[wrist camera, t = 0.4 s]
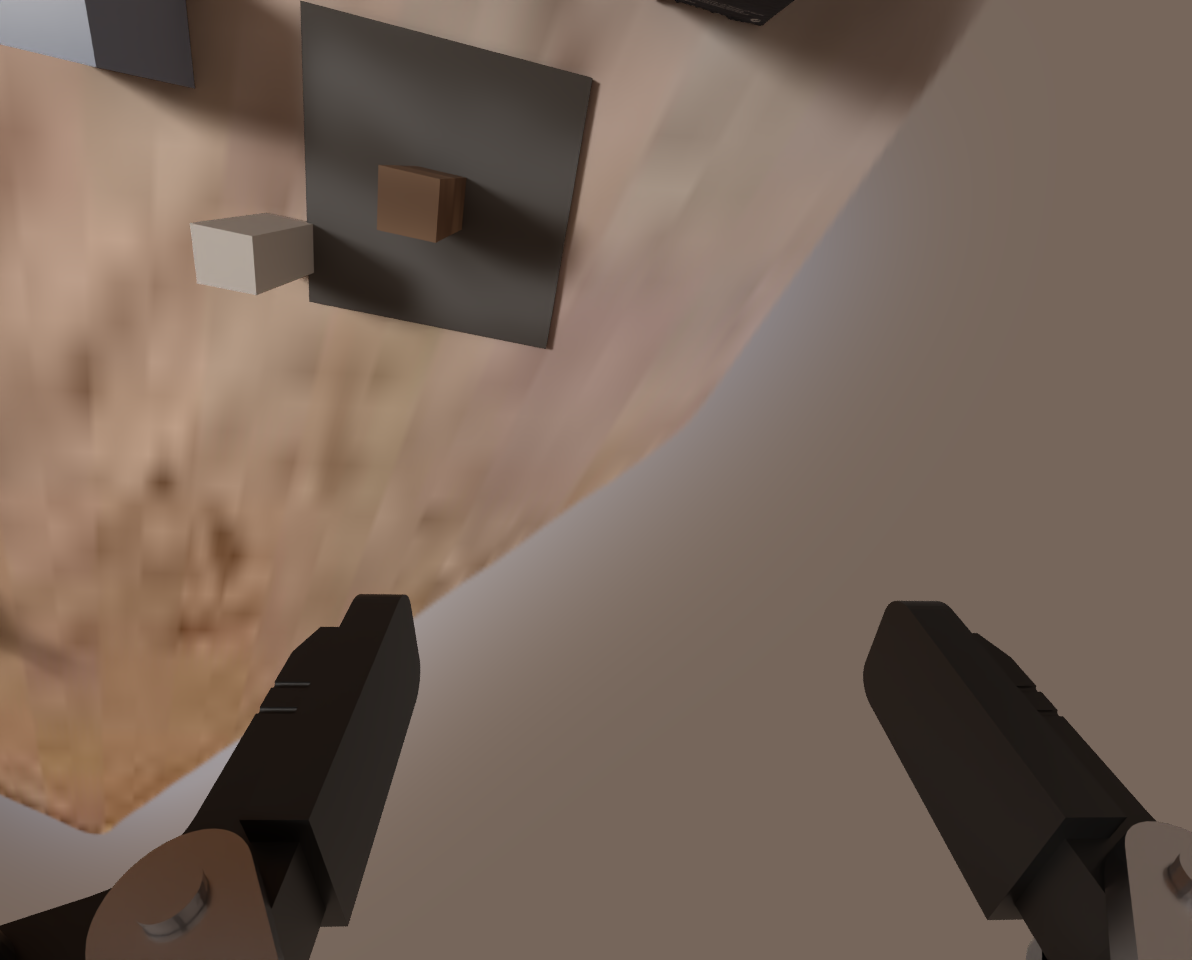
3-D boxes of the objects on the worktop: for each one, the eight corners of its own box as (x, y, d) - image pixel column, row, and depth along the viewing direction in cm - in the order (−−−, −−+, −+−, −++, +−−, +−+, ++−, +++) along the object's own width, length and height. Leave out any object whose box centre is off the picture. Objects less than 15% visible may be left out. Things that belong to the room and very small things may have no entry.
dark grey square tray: (304, 2, 27) (222, -48, 21) (592, 79, 28) (596, 53, 22) (312, 300, 33) (252, 329, 27) (546, 347, 35) (539, 384, 29)
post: (266, 212, 31) (189, 222, 25) (315, 223, 31) (251, 236, 25) (269, 261, 32) (197, 283, 26) (316, 271, 32) (256, 295, 26)
